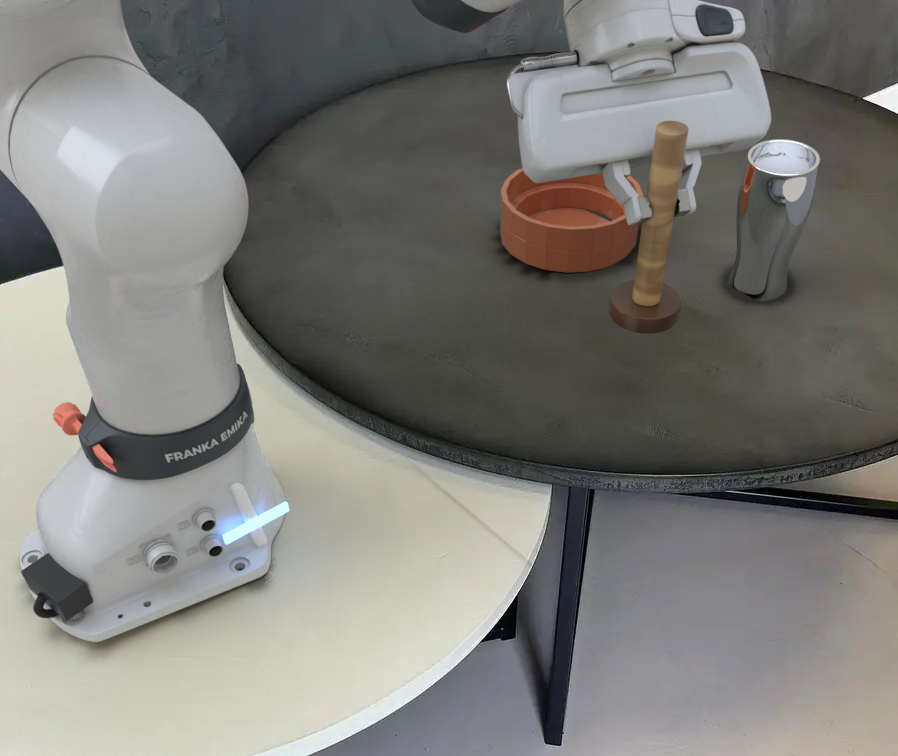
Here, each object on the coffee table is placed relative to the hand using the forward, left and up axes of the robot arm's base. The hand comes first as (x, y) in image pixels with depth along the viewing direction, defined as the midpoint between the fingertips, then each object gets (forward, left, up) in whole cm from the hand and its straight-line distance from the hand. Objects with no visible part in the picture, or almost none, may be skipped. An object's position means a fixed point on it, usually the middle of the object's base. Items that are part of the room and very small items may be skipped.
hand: (662, 218), depth 78 cm
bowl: (+15, +24, -19) cm, 34 cm away
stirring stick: (0, +1, -9) cm, 9 cm away
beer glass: (+23, +4, -19) cm, 30 cm away
